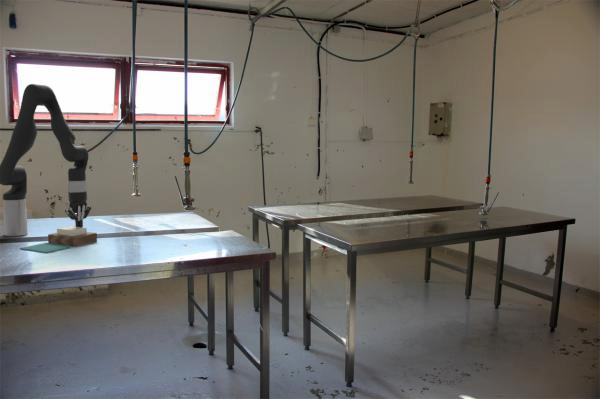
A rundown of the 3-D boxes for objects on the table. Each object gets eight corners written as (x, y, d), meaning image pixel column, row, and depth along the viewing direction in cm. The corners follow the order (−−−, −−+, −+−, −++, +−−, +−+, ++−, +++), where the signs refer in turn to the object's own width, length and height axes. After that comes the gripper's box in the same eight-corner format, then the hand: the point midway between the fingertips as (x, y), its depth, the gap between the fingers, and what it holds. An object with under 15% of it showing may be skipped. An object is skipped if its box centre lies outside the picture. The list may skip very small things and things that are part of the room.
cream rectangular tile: (57, 234, 203) (56, 228, 203) (70, 231, 210) (70, 226, 209) (73, 236, 199) (73, 230, 199) (86, 233, 206) (86, 227, 206)
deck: (48, 243, 203) (47, 234, 203) (71, 238, 214) (71, 230, 213) (74, 246, 197) (74, 237, 196) (97, 241, 208) (96, 233, 207)
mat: (20, 249, 191) (20, 248, 191) (46, 243, 202) (46, 242, 202) (47, 253, 185) (47, 252, 185) (72, 247, 196) (72, 246, 196)
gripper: (83, 189, 215) (85, 225, 217) (58, 191, 203) (60, 230, 205) (95, 189, 212) (97, 226, 214) (71, 192, 200) (73, 231, 202)
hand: (79, 228), depth 209 cm, fingers closed
